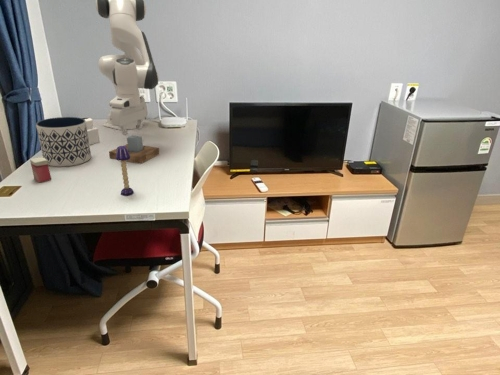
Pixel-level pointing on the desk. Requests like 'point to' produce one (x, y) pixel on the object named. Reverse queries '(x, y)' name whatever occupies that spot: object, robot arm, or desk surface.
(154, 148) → the wooden socket board
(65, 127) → the planter
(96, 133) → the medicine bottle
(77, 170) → the desk surface
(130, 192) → the toy lamp
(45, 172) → the small box
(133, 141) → the key block
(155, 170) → the desk surface
